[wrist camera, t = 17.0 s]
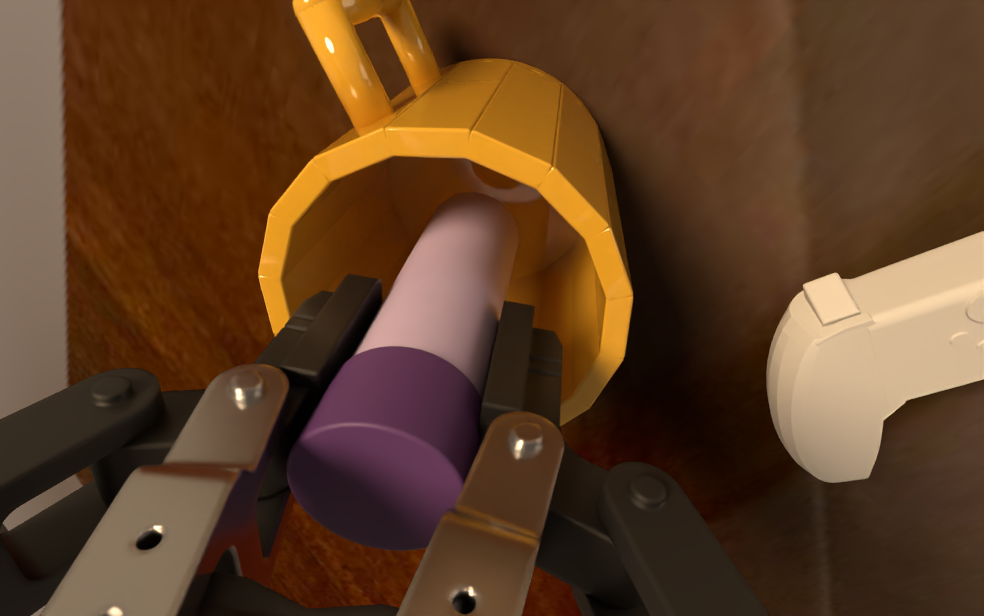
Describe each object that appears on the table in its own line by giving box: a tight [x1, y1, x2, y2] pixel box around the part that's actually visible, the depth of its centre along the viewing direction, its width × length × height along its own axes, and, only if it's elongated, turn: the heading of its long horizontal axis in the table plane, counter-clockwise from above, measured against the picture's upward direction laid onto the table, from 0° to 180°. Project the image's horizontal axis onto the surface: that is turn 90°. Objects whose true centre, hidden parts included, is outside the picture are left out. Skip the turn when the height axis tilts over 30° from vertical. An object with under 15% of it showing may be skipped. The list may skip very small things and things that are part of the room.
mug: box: [258, 0, 634, 426], centre depth 16 cm, size 12×9×10 cm
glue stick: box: [287, 192, 519, 550], centre depth 13 cm, size 3×3×10 cm
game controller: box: [766, 231, 984, 483], centre depth 20 cm, size 14×4×10 cm
